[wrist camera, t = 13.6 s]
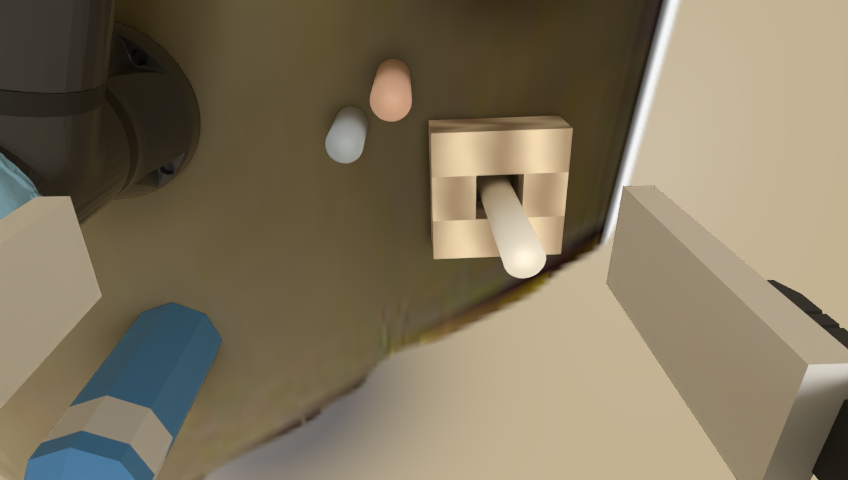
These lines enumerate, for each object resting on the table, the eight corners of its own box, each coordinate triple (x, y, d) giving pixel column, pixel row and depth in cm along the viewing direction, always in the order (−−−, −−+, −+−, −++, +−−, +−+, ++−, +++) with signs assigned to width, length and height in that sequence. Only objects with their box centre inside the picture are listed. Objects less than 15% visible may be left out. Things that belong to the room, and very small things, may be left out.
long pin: (475, 196, 53) (502, 279, 39) (476, 166, 52) (504, 241, 37) (506, 194, 53) (544, 277, 39) (507, 165, 52) (547, 239, 37)
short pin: (337, 139, 50) (327, 163, 44) (333, 107, 49) (323, 127, 42) (369, 138, 50) (364, 162, 44) (367, 105, 49) (361, 125, 42)
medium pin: (377, 94, 48) (371, 122, 39) (375, 59, 47) (368, 80, 38) (411, 93, 48) (412, 120, 39) (409, 58, 47) (411, 78, 38)
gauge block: (431, 238, 55) (433, 259, 51) (428, 120, 49) (430, 133, 45) (549, 233, 55) (560, 254, 51) (559, 115, 50) (572, 128, 46)
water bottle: (226, 372, 62) (124, 602, 39) (141, 370, 61) (-10, 602, 39) (216, 303, 57) (97, 515, 35) (126, 301, 57) (-54, 514, 35)
